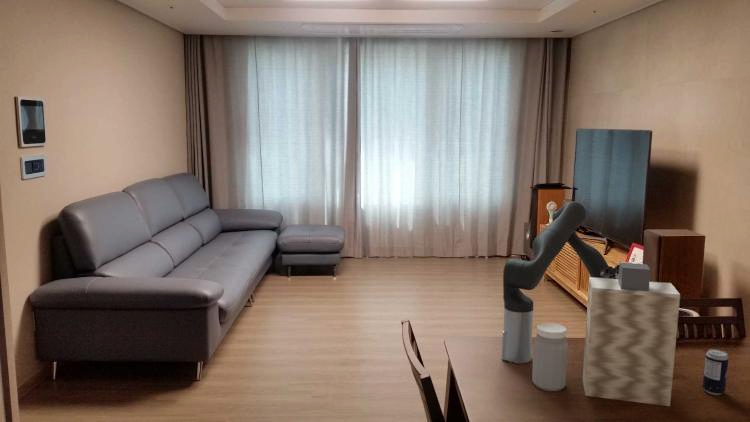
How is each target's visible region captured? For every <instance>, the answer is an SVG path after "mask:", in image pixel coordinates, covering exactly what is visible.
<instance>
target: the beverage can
mask: <svg viewBox="0 0 750 422" xmlns="http://www.w3.org/2000/svg"><path fill="white" fill-rule="evenodd" d="M729 361H730V360H729V356H728V353H727V352H726V351H723V350H721V349H715V348H712V349H711V348H710V349H708V350H707V351H706V353H705V358H704V366H703V368H704V369H703V378H702V385H701V386H702V388H703V389H704V391H705V392H706V393H708V394H710V395H715V396H720V395H722V394H724V393H725V392H726V387H727V386H726V385H727V375H728V370H729V369H728V366H729Z"/></svg>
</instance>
